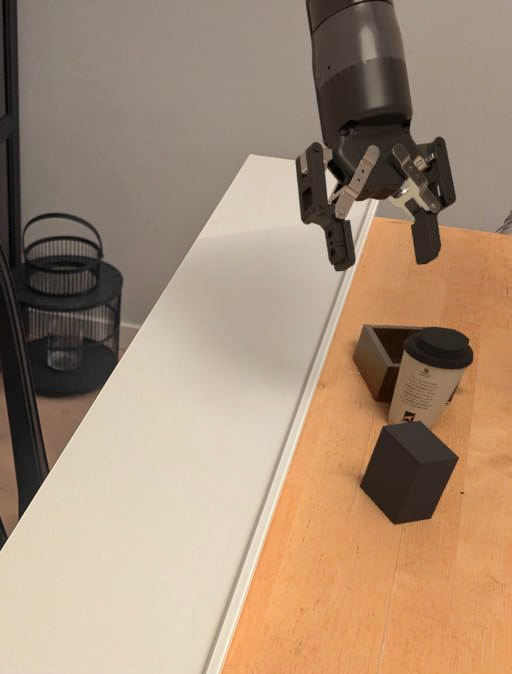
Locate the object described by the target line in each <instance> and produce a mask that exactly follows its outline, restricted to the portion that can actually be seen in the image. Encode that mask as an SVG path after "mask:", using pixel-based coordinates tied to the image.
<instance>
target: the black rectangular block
mask: <svg viewBox="0 0 512 674" xmlns="http://www.w3.org/2000/svg"><path fill="white" fill-rule="evenodd" d="M459 459H460V457H459V456H458V455H457V454H456V452H454V451H453V450H452V449H451V448H450V447H449V446H448V445H447V444H446V443H445V442H444V441H442V439H440V437H438V436H437V435H436V434H435V433H434V432H433V431H432V429H431V430H430V429H428V428H427V427H426V426H425V425H424V424H423V423H422V422H421V421H414V422H407V423H400V424H393V425H389V424H386V425H382V427H381V430H380V432H379V434H378V438H377V440H376V442H375V445H374V448H373V450H372V453H371V456H370V457H369V461H368V464H367V466H366V468H365V471H364V474H363V476H362V479H361V481H360V485H359V488H360V489H361V491H363V493H364V494H366V496H368V498H369V499H370V500H371V501H372V502H373V503H374V505H375V506H376V507H377V508H378V509H379V510H380V511H381V513H382V514H383V515H384V516H385V517H386V518H387V519H388V520H389V521H390V522H391V523H392V525H394V526H398V525H403V524H409V523H414V522H415V523H416V522H420V521H427V520H431V519H432V518H433V515H434V513H435V512H436V509H437V507H438V504H439V503H440V500H441V498H442V496H443V494H444V491H445V490H446V488H447V486H448V483H449V481H450V479H451V477H452V475H453V473H454V470H455V468H456V467H457V464H458V462H459Z"/></svg>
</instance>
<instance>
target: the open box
mask: <svg viewBox="0 0 512 674" xmlns="http://www.w3.org/2000/svg"><path fill="white" fill-rule="evenodd" d="M427 327H428V326H416V325H394V324H393V325H390V324H367V323H364V324H363V325H362V328H361V331H360V334H359V336H358V340H357V342H356V345H355V349H354V352H353V355H352V360H353V362H354V364H355V365H356V367H357V369H358V371H359V373H360V375H361V378H362V379H363V381H364V383H365V384H366V386H367V388H368V390H369V392H370V395H371V396H372V398H373V400H374V401H375V402H380V403H381V402H384V403H392V399H393V395H394V391H395V386H396V382H397V378H398V374H399V370H400V366H401V362H402V357H403V353H404V347H403V345H404V342H405V340H406V339H407V338H408V337H409V336H411V335H412V334H413V333H416V332H420V331H421V330H422V329H424V328H427ZM461 379H462V378H461ZM461 379H460V381H459V382H458V384H457V386H456V388H455V389H454V391H453V393H452V394H451V396H450V398H449V399H448V401H447V402H452V401H453V398H454V396H455V394H456V391H457V389H458V387H459V385H460V382H461Z"/></svg>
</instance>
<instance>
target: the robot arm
mask: <svg viewBox="0 0 512 674" xmlns="http://www.w3.org/2000/svg"><path fill="white" fill-rule="evenodd" d="M304 2H305V3H304V4H305V9H306V17H307V23H308V24H307V25H308V30H309V36H310V45H311V69H312V71H311V72H312V79H313V85H314V91H315V97H316V104H317V105H316V106H317V111H318V118H319V124H320V131H321V139H322V143H323V145H324V147H325V148H324V147H323V146H322V144H321V143H320V142H318V141H314V142H312V143H310V145H309V146H308V147H306V148H305V150H303V152H301V153H300V154H299V155H298V156H297V157H296V158H295V162H294V163H295V172H296V173H295V174H296V183H297V184H296V185H297V193H298V194H297V195H298V203H299V212H300V220H301V222H302V223H303V224H304V225H306V226H307V225H311V224H314V225H317V226H319V227H320V229H321V230H322V231H323V232H324V238H325V244H326V250H327V251H326V252H327V257H328V261H329V263H330V265H331V266H333V269H334V271H335V272H336V273H337V272H345V271H347V270H348V269H350V268H351V267H353V266H354V265H355V264H356V259H357V257H356V250H355V245H354V238H353V237H354V236H353V231H352V224H351V220H350V219H348V220H347V219H346V218H347V216H348V215H349V214H350V213H349V212H350V211H351V208H352V206H353V204H354V202H355V203H356V202H364V201H366V200H369V199H371V200H375V201H376V200H377V201H382V200H383V201H384V200H388V201H389V202H390V203H391V204H392V206H394V208H398V209H402V211H403V212H404V213H405V214H406V216H407V217H408V218H409V219H410V220H411V221H412V224H411V225H410V230H411V237H412V244H413V250H414V258H415V263H416V265H418V266H421V265H422V266H423V265H427V264H430V263H431V262H433V261H435V260H436V259H437V258H438V257H439V255H440V252H441V249H442V241H441V233H440V227H439V219H438V216H439V213H441V212H442V211H444V210H445V209H447V208H448V207H450V206H452V205H454V203H456V201H457V194H456V189H455V184H454V178H453V174H452V168H451V164H450V158H449V153H448V148H447V142H446V140H445V139H444V138H443V137H442V136H436V137H435V138H434V139H433V140H430V141H429V142H424V143H417V142H415V140H414V138H413V136H412V134H411V125H412V124H411V123H412V119H413V115H414V111H413V110H414V109H413V102H412V96H411V89H410V81H409V75H408V68H407V61H406V54H405V47H404V41H403V36H402V31H401V28H400V24H399V21H398V18H397V13H396V9H395V1H394V0H304ZM327 170H328V171H329V173H330V174H331V175H332V176H333V177H334V179H335V180H336V183H335V185H334V187H333V189H332V190H331V191H332V192H331V193H330V195H329V196H328V188H327V178H326V177H327V176H326V171H327ZM406 182H407V183H408V185H409V186H408V187H407V188H406V189H402V188H403V187H404V186H405V183H406ZM328 197H329V198H328Z"/></svg>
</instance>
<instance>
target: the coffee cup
mask: <svg viewBox="0 0 512 674" xmlns="http://www.w3.org/2000/svg"><path fill="white" fill-rule="evenodd" d="M426 327H427V328H424V329H422V330H421V331H420V332H416V333H413V334H412V335H411V336H409V337H408V338H407V339H406V340H405V342H404V345H403V347H404V353H403V357H402V362H401V366H400V370H399V374H398V378H397V382H396V386H395V391H394V395H393V399H392V402H390V408H389V410H388V411H389V412H388V416H387V419H386V420H387V424H388V425H393V424H400V423H407V422H414V421H421V422H422V423H423V424H424V425H425V426H426V427H427V428H428V429H430V430H431V431H432V429H433V427H434V425H435V423H436V422H437V420H438V418H439V416H440V415H441V413H442V411H443V409H444V408H445V406H446V405H447V404H446V403H447V401H448V399H449V398H450V396H451V394H452V393H453V391H454V389H455V388H456V386H457V384H458V382H459V381H460V382H461V380H460V379H462V377H463V376H464V374H465V373H466V370H467V369H468V368H469V367H470V366H471V365H472V364H473V363H474V350H473V348H472V347H471V346H470V338H469V337H468V336H467V335H466V334H464V333H463V332H461V331H459V330H457V329H455V328H449V327H442V326H426ZM460 382H459V383H460ZM458 385H459V384H458Z"/></svg>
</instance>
